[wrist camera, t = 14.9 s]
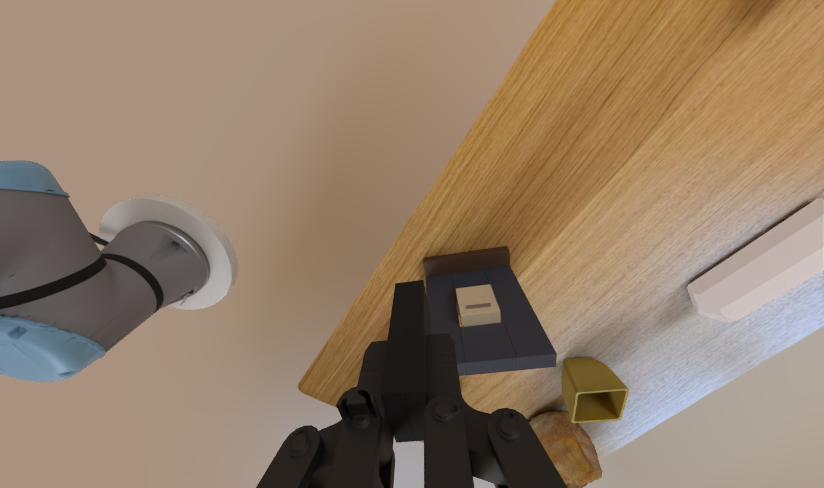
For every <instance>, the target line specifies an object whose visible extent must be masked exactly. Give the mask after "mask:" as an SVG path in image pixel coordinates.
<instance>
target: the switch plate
mask: <svg viewBox="0 0 824 488" xmlns="http://www.w3.org/2000/svg"><path fill="white" fill-rule="evenodd" d="M423 263H424V268H425V274H426V291H427V303H428V308H429V314H430V319H431V335H434V334H443V333H448V334H449V335H450V336H451V338H452V339H453V341H454V346H455V352H456V359H457V366H458V373H459V376H463V375H474V374H484V373H495V372H505V371H515V370H525V369H536V368H546V367H556V355H557V354H556V352H555V350H554V348H553V346H552V344H551V342H550V341H549V339H548V337H547V335H546V333H545V331H544V329H543V327H542V326H541V324H540V322H539V320H538V318H537V316H536V314H535V312H534V311H533V309H532V307H531V305H530V303H529V301H528V299H527V297H526V296H525V294H524V292H523V290H522V288H521V286H520V284H519V283H518V281H517V279H516V277H515V275H514V273H513V271H512V269H511V268H510V256H509V249H508V247H507V246H505V247H498V248H491V249H484V250H476V251H469V252H462V253H455V254H448V255H441V256H433V257H426V258H423ZM488 284H490V285H491V288H492V290H493V293H494V296H495V298H496V301H497V304H498V306H499V309H500V315H501V323H494V324H485V325H476V326H468V327H460V326H459V320H458V315H460V313H459V308H458V302H457V295H456V289H457V288H465V287H472V286H480V285H488Z"/></svg>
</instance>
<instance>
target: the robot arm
mask: <svg viewBox="0 0 824 488" xmlns="http://www.w3.org/2000/svg"><path fill="white" fill-rule="evenodd" d="M69 197H70V196H69V195H68V193H66V192H64V191H63V189H62V188H61V187H60V185H59V184H58V182H57V181H56V179H55V178H54V176H53V175H52V173H51V172H50V171H49V170H48V169H47V168H45V167H44V166H42V165H40V164H38V163H34V162H31V161H0V373H1V374H4V375H7V376H10V377H14V378H18V379H23V380H29V381H37V382H51V381H58V380H63V379H66V378H69V377H71V376H73V375H75V374H77V373H78V372H80V371H81V370H83V369H84V368H86V367H87V366H88V365H90V364H91V363H93V362H94V361H96V360H97V359H99V358H101V357H103V356H104V355H105V353H106V352H107V351H108V350H109V349H111V348H112V347H113V346H114V345H116V344H117V343H118V342H119V341H120V340H122V339H123V338H124V337H125V336H127V335H128V334H129V333H130V332H132V331H133V330H134V329H135V328H137V327H138V326H139V325H140V324H141V323H143V322H144V321H145V320H146V319H148V318H149V317H150V316H151V315H153V313H155V312H156V311H157V310H159V309H160V308H163V307H165V306H168V305H170V304H173V303H175V302H178V301H180V300H182V302H181V304H180V306H181V305H182V304H183V303H184V302H185V301H186V299H187V298H188V297H190V296H192V295H194V294H196V293H197V292H198V291H199V290H200V289H202V288H203V287H204V286H205V285H206V283H207V282H208V280H209V277H210V265H209V261H208V258H207V256H206V254H205V252H204V251H203V249H202V248H201V247H200V245H199V244H198V243H197V242H196V241H195V240H194V239H193V238H192V237H191V236H189V235H188V234H187V233H185V232H184V231H182V230H181V229H179V228H177V227H175V226H173V225H170V224H167V223H164V222H160V221H141V222H138V223H135V224H133V225H130V226H128V227H126V228H124V229H123V230H121V231H120V232H119V233H118V234H117V235H116V236H115V238H114V239H113V240H112V241H111V242H108V241H106V240H104V239H101V238H99V237H97V236H95V235H93V234H91V233H89V232H88V231H87V229H86V227H85V226H84V224H83V222H82V221H81V219H80V217H79V216H78V214H77V213H76V211H75V209H74V208H73V206H72V205H71V203H70V201H69V199H68V198H69ZM95 242H96V243H98V244H100V245H103V246H105V247H104V248H103V249H102V250H101V251H100V250H99V249H98V247H97V245H96V244H95ZM336 406H337V408H338V410H339V412H340V414H341V417H342V420H341V421H339V422H338V423H336V424H334V425H331V426H329V427H327V428H324V429H322V430H320V431H318V430H317V428H315V427H313V426H303V427H300V428H298V429H296V430H295V431H294V432H292V433H291V434H290V435H289V436H288V437H287V439H286V440H285V441H284V443H283V444H282V446H281V448H280V449H279V451H278V452H277V454H276V456H275V457H274V459H273V461H272V462H271V464H270V466H269V467H268V469H267V471H266V472H265V474H264V476H263V477H262V479H261V481H260V482H259V484H258V486H257V487H256V488H393V483H394V469H395V454H394V451H393V438H394V437H395V440H396V442H408V441H423V440H424V488H474V483H473V476H474V477H477V478H479V479H482V480H486V481H488V482H491V483H494V485H495V487H496V488H568V487H567V486H566V484H565V482H564V481H563V479H562V477H561V476H560V474H559V472H558V471H557V469H556V467H555V466H554V464H553V462H552V461H551V459H550V457H549V456H548V454H547V452H546V451H545V449H544V447H543V445H542V444H541V442H540V440H539V439H538V437H537V435H536V434H535V432H534V430H533V429H532V427H531V425H530V424H529V422H528V421H527V420H526V418H525V417H524V416H523V415H522V414H520V413H519V412H517V411H516V410H513V409H509V408H502V409H498V410H496V411H494V412H492V414H488V413H484V412H480V411H477V410H475V409H473V408H471V407H470V406H469V405H468V404H467V403H466V402H465V401H464V399H463V398H462V395H461V388H460V380H459V373H458V366H457V359H456V352H455V346H454V341H453V339H452V338H451V336H450V335H449V334H448V333H443V334H434V335H431V319H430V314H429V308H428V303H427V298H426V293H425V287H424V282H423V280H419V281H412V282H404V283H397V284H395V292H394V299H393V306H392V313H391V320H390V328H389V335H388V340H387V341H378V342H371V344H370V345H369V346H368V348H367V349H366V351H365V354H364V358H363V364H362V367H361V372H360V376H359V381H358V385H357V387H354V388H351V389H349V390H348V391H346V392H345V393H344V394H343V395H342V396H341V397H340V399H339V401H338V403H337V405H336Z"/></svg>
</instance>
